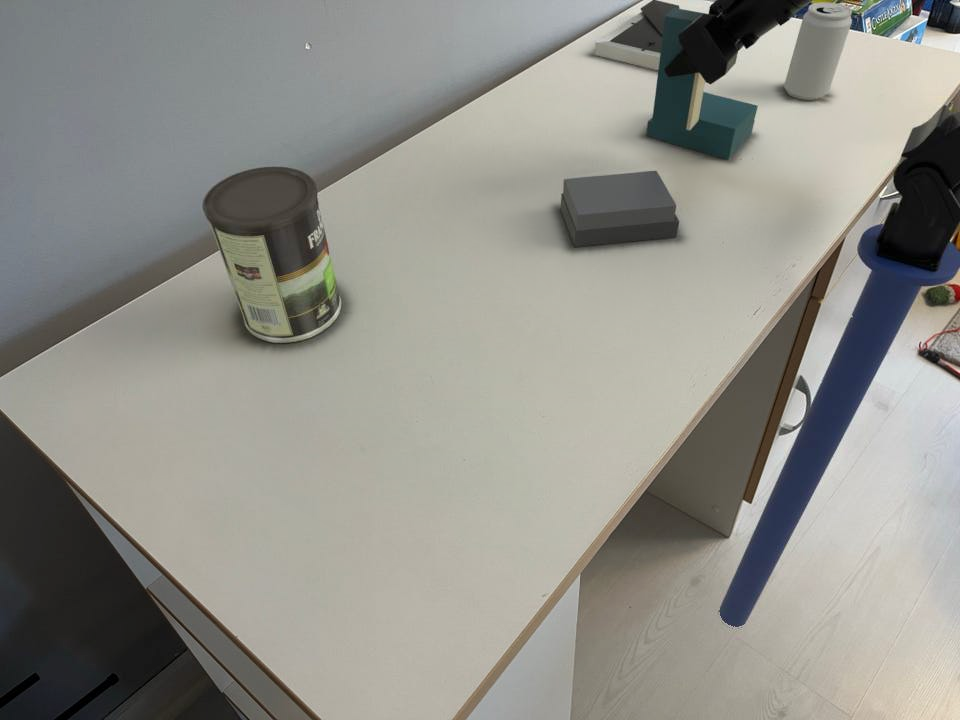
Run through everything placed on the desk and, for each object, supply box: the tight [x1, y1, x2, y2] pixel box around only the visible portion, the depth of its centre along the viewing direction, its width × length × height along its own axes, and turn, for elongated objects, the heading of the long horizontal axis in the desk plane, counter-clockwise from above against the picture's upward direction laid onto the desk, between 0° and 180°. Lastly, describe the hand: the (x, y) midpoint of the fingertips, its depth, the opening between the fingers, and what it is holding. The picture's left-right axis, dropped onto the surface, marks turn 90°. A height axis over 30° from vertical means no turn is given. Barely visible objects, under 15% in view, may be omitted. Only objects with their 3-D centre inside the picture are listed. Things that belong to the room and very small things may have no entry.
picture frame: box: [594, 0, 681, 71], centre depth 121 cm, size 16×3×21 cm
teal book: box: [651, 8, 716, 131], centre depth 85 cm, size 5×3×13 cm, turn 56°
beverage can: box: [783, 1, 853, 101], centre depth 103 cm, size 6×6×12 cm
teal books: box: [645, 91, 759, 160], centre depth 98 cm, size 12×8×4 cm
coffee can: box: [202, 166, 342, 344], centre depth 70 cm, size 10×10×14 cm
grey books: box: [560, 170, 680, 248], centre depth 83 cm, size 12×8×4 cm, turn 97°
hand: (671, 68), depth 86 cm, fingers closed on teal book, 3 cm apart
